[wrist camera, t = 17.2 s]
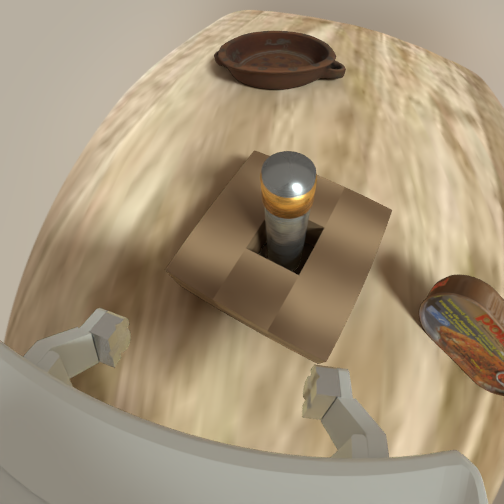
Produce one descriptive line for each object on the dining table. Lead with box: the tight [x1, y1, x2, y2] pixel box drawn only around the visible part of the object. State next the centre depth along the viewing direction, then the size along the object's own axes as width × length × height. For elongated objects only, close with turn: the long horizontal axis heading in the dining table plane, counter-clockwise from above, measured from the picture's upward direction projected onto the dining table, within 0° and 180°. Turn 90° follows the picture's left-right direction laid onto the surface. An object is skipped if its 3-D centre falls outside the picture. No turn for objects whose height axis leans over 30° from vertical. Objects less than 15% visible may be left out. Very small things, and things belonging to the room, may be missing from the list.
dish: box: [214, 31, 346, 89], centre depth 38 cm, size 18×22×5 cm
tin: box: [419, 275, 504, 396], centre depth 17 cm, size 15×3×8 cm, turn 44°
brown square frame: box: [165, 151, 392, 364], centre depth 24 cm, size 14×14×4 cm
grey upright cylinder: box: [260, 151, 317, 271], centre depth 21 cm, size 3×3×12 cm
